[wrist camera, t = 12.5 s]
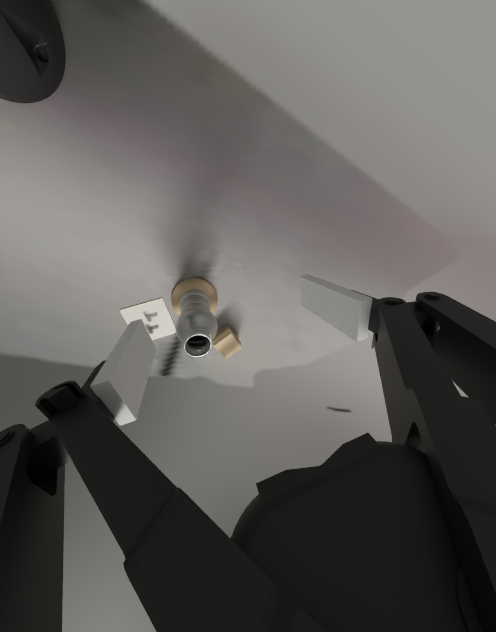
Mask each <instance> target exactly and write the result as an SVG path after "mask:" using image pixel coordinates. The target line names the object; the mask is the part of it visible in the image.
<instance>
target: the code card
mask: <svg viewBox="0 0 496 632" xmlns="http://www.w3.org/2000/svg"><path fill="white" fill-rule="evenodd" d="M120 312H121V314H122V316H123V317H124V319H125V321H126V323H127V324H128V325H129V324H130V322H132V321H135V320H139V319H142V321H143V323H144V325H145V327H146V329H147V331H148V333H149V335H150V337H151V339H152V340H155V339H158V338H161V337H164V336H167V335H171V334H174V333H176V328H175V325H174V323H173V321H172V319H171V316H170V314H169V312H168V310H167V307H166V305H165V303H164V300H163V298H160V299H156V300H153V301H149V302H146V303H142V304H139V305H135V306H132V307H128V308H125V309H121V310H120Z"/></svg>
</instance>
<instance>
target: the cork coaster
mask: <svg viewBox="0 0 496 632" xmlns="http://www.w3.org/2000/svg"><path fill="white" fill-rule="evenodd" d="M191 289H199V290H202V291H203V292H205V293H206V294H207V295H208V296H209V298H210V301H211V306H210V311H211V313H213V311H214V310H215V308H216V305H217V295H216V292H215V290H214V288H213V287H212V286H211V285H210V284H209V283H208V282H206V281H205V280H202V279H198V278H190V279H186V280H184V281H182V282H180V283H179V284H178V285H177V286H176V287H175V289H174V291H173V294H172V305H173V307H174V309H175V311H176V312H177V313H178V314H179V315H181V312H180V309H179V300H180V297H181V296H182V295H183V294H184V293H185V292H186V291H188V290H191Z"/></svg>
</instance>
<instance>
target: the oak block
mask: <svg viewBox="0 0 496 632" xmlns="http://www.w3.org/2000/svg"><path fill="white" fill-rule="evenodd" d="M213 345H214V347H215V348H216V349H217V350H218V351H219V352H220V353H221V354H222V355H223V356H224V358H225V359H227V358H229V357H230V356H231V355H233V354H234V353H235V352H237V351H238V350H240V349H241V348H242V345H241V343H240V341H239V338H238V337H237V336H236V335H235V333H234V332H233V331H232V330H231V328H230V327H229V326H228V325H226V326H225V327H224V328H222V329H221V330H220V331H218V332H217V333H216V336H215V337H214V339H213Z"/></svg>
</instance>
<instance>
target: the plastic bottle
mask: <svg viewBox="0 0 496 632" xmlns="http://www.w3.org/2000/svg"><path fill="white" fill-rule="evenodd" d="M210 306H211V301H210V298H209V296H208V295H207V294H206V293H205V292H203V291H202V290H199V289H191V290H188V291H186V292H185V293H184V294H183V295H182V296H181V297H180V300H179V309H180V312H181V315H180V317H179V319H178V321H177V324H176V334H177V337H178V338H179V340H180V341H181V342H182V343H183V344H184V350H185V352H186V353H187V354H188V355H190V356H193V357H200V356H203V355H205V354H207V353H208V352H209V351H210V349H211V346H212V340H213V339H214V337H215V336H216V333H217V330H218V324H217V321H216V319H215V317H214V315H213V314H212V313H211V311H210Z"/></svg>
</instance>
